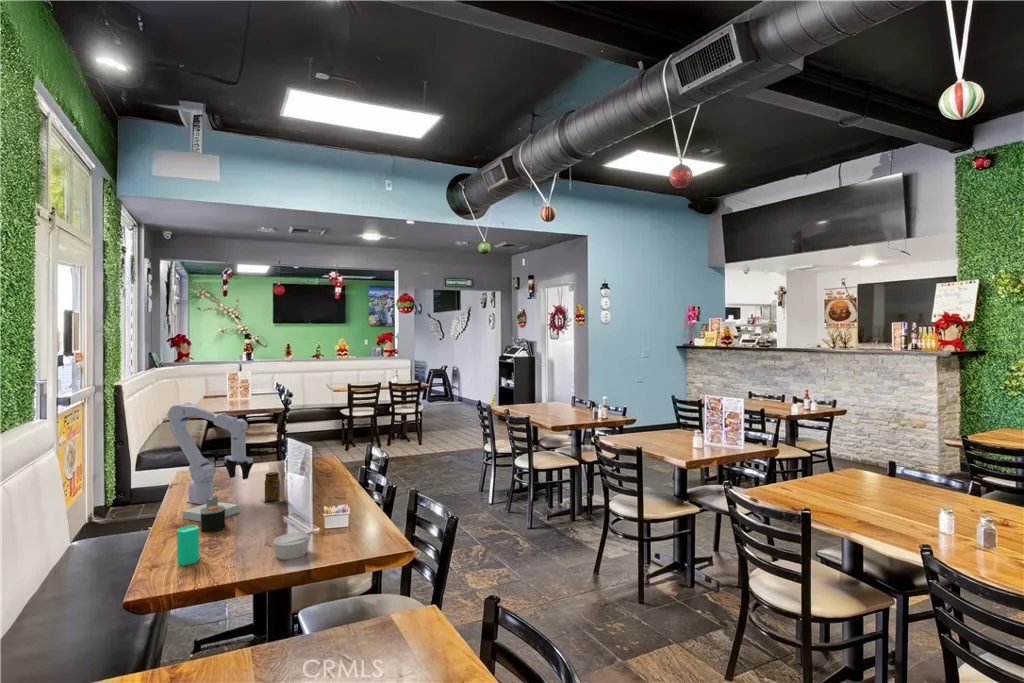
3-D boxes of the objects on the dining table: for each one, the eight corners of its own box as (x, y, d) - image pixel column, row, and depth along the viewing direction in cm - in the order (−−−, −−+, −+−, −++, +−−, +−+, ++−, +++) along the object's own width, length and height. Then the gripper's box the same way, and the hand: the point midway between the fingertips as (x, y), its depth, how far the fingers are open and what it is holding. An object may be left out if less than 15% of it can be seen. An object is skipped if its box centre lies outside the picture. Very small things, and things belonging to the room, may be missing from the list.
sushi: (225, 523, 212) (225, 502, 212) (224, 530, 204) (224, 508, 204) (201, 526, 208) (201, 505, 208) (199, 533, 201) (199, 512, 200)
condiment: (278, 497, 246) (277, 470, 246) (284, 501, 240) (283, 474, 240) (260, 500, 242) (260, 473, 242) (266, 504, 235) (266, 476, 235)
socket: (182, 518, 217) (182, 511, 217) (213, 508, 230) (213, 501, 230) (208, 522, 212) (208, 515, 212) (238, 512, 225) (238, 504, 225)
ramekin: (297, 562, 174) (297, 546, 174) (265, 560, 176) (265, 543, 176) (316, 549, 185) (316, 533, 185) (285, 547, 187) (285, 531, 187)
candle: (183, 557, 179) (182, 520, 179) (202, 557, 179) (202, 520, 179) (173, 565, 173) (173, 527, 173) (193, 564, 173) (193, 526, 173)
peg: (204, 516, 220) (204, 498, 220) (212, 513, 224) (212, 496, 224) (212, 516, 219) (212, 499, 219) (220, 513, 223) (220, 496, 223)
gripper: (218, 447, 240) (218, 478, 240) (243, 450, 235) (243, 481, 235) (232, 444, 247) (232, 475, 247) (256, 447, 241) (257, 477, 241)
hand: (238, 478), depth 241 cm, fingers open, 7 cm apart
